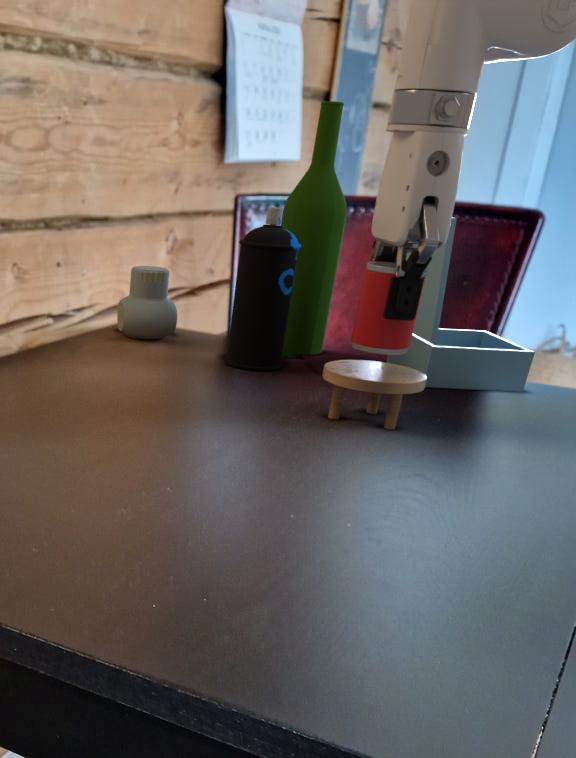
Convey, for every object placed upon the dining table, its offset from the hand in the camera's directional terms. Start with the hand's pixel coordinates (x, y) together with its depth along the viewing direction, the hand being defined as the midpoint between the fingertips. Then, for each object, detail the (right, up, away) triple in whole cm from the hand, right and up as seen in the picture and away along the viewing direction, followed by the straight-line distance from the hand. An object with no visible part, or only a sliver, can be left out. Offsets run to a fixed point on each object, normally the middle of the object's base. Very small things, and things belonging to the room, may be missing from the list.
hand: (387, 311), depth 91 cm
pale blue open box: (+18, +1, +28) cm, 34 cm away
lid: (+12, +13, +21) cm, 28 cm away
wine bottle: (-1, +9, +40) cm, 41 cm away
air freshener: (-23, +13, +45) cm, 52 cm away
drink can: (0, -3, +2) cm, 4 cm away
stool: (-1, -10, +6) cm, 12 cm away
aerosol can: (-9, +4, +31) cm, 32 cm away
